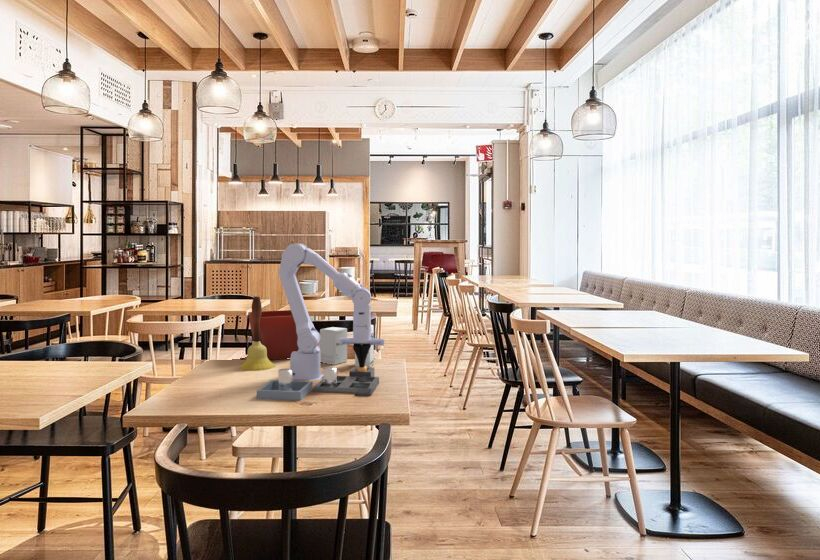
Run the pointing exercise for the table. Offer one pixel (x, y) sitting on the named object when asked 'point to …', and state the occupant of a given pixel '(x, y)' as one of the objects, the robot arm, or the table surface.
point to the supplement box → (333, 345)
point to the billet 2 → (330, 377)
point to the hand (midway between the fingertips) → (362, 366)
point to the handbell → (257, 344)
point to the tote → (273, 393)
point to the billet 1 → (285, 380)
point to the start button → (362, 368)
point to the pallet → (351, 385)
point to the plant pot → (277, 333)
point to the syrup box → (370, 354)
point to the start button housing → (362, 372)
